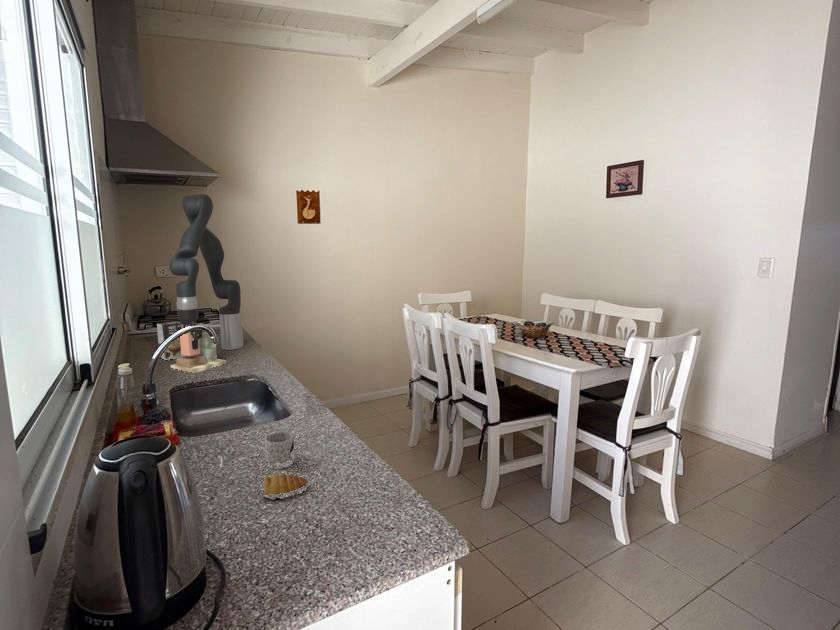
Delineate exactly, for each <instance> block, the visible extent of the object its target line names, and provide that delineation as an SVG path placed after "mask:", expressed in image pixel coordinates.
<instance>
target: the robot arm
mask: <svg viewBox="0 0 840 630" xmlns="http://www.w3.org/2000/svg"><path fill="white" fill-rule="evenodd" d="M181 199H182V200H181V203H182V208H183V211H184V214H185V216H186V218H187V221H188V223H189V226H188V227H187V228H186V229H185V231H184V233H182V236H181V238H180V242H179V246H178V248H177V250H176V252H175V253H174V255H173V256H172V258H171V260H170V262H169V271H170V273H171V274H172V275H174V276H178V277H181V276H182V277H183V276H184V277H185V276H186V277H187V278H186V279H185V281H184V280H183V281H179V282H177V283H176V286H175V287H176V288H175V289H176V290H175V291H176V312H177V319H178V320H179V323H175V326H176V330H177V331H178V330H180V329H182V328H185V327H188V326H192V325H199V324H198V322H197V320H198V319H199V309H198V308H199V307H198V299H197V290H196V285H197V280H198V279H197V278H198V274H199V270H200V265H199V261H198V260H197V259H196V258H195V257H196V256H197V255H198V252H199V250H200V253H201V256H202V257H203V260H204V263H205V265H206V268H207V272H208V274H209V275H208V276H209V278H210V279H209V280H210V283H211V286H212V289H213V293H214V295H215V297H216V298H217V299H220V300H227V304H225V305H224V306H221V307H219V309H218V313H219V314H218V315H219V326H220V342H221V343H220V345H221V350H224V349H225V351H226V350H227V351H231V350H234V351H235V350H239V349H241V348H244V335H243V333H244V332H243V327H241V306H242V305H241V286H240V283H239V282H238V281H237V280H235V279H234V280H233V279H224V277H223V275H222V266H223V263H224V260H225V250H224V248H223V245H222V243H221V241H220V239H219V238H218V237H217V236H216V234H214V233H213V232H212V231H211V230H210V229H208V227H207V225H208V224H209V220H210V218H211V216H212V214H213V210H214V203H213V200H212V198H211V197H210V196H209V195H208V194H189V195H184V196H183V197H182V198H181ZM192 332H194V333H192ZM202 332H203V329H202V330H193V331H190V332H188V333H189V334H190V335H191V339H192V349H194V350H195V349H198V339H201V338H202ZM194 334H195V337H194V336H193V335H194ZM198 334H199V336H198Z"/></svg>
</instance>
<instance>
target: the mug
mask: <svg viewBox="0 0 840 630" xmlns="http://www.w3.org/2000/svg"><path fill="white" fill-rule="evenodd" d="M294 438H295V437H294V434H293V433H292V432H289V431H276V432H272V433H270V434H267V435H266V436H265V437H264V448H265V452H264V453H265V461H266V460H267V461H268V462H270V463H283V462H287V461H289V460H291V459H292V458H293V457H294V458H295V441H294V440H295V439H294Z"/></svg>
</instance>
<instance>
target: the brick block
mask: <svg viewBox="0 0 840 630" xmlns="http://www.w3.org/2000/svg"><path fill="white" fill-rule="evenodd" d="M194 332H195V331H194ZM194 332H192V333H194ZM193 336H194V337H195V334H194V335H193ZM198 336H199V334H198ZM180 344H181V355H186V356H192V355H198V354H200V344H199V339H198V349H195V350H194V349H192V339H191V335H190V334H189V333H186V334H183V335H182V336H180Z"/></svg>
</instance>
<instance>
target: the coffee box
mask: <svg viewBox="0 0 840 630" xmlns="http://www.w3.org/2000/svg"><path fill="white" fill-rule="evenodd" d="M179 322H180V320H179V321H178V320H177V321H176V320H175V321H166V322H159V323H158V322H157V323H156V328H157V342H158V343H157V345H158V347H159V345H160V344H161V343H162V342H163V341H164V340H165V339H166V338H167V337H169V336H170V335H171V334H173V333H174V332H176V331H177V330H176V326H175V323H179ZM185 356H186V355H181V344H180V337H179V338H177V339H176V340H174V341H173V342H172V343H171V344H170V345H169V346H168V348H167V349H166V350H165V352H164V353H163V354H162V356H161V358H162V359H164V360H163V361H165V360H168V361H171V360H170V359H173V360H176V358H181V357H185ZM162 359H161V360H162Z"/></svg>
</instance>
